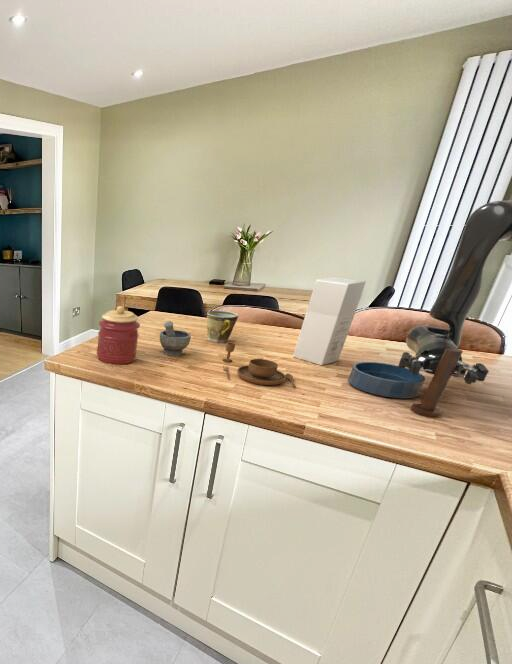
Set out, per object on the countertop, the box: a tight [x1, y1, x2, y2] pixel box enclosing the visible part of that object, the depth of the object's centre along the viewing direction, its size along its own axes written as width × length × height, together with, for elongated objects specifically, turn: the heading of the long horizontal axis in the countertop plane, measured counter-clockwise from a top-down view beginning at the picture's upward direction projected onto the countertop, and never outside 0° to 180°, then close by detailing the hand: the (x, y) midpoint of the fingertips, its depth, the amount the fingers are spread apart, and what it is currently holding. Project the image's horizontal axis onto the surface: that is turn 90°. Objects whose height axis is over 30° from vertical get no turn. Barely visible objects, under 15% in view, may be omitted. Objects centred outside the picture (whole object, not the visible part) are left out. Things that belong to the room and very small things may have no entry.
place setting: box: [222, 341, 296, 388], centre depth 118 cm, size 18×20×6 cm
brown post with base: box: [410, 348, 464, 418], centre depth 92 cm, size 5×5×16 cm
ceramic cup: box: [206, 310, 239, 344], centre depth 144 cm, size 13×10×10 cm
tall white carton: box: [292, 276, 367, 366], centre depth 123 cm, size 9×9×25 cm
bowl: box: [347, 361, 426, 399], centre depth 106 cm, size 14×14×5 cm
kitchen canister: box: [96, 305, 141, 365], centre depth 131 cm, size 13×13×18 cm
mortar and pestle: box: [159, 320, 192, 357], centre depth 134 cm, size 11×9×12 cm
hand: (443, 375), depth 90 cm, fingers open, 8 cm apart
